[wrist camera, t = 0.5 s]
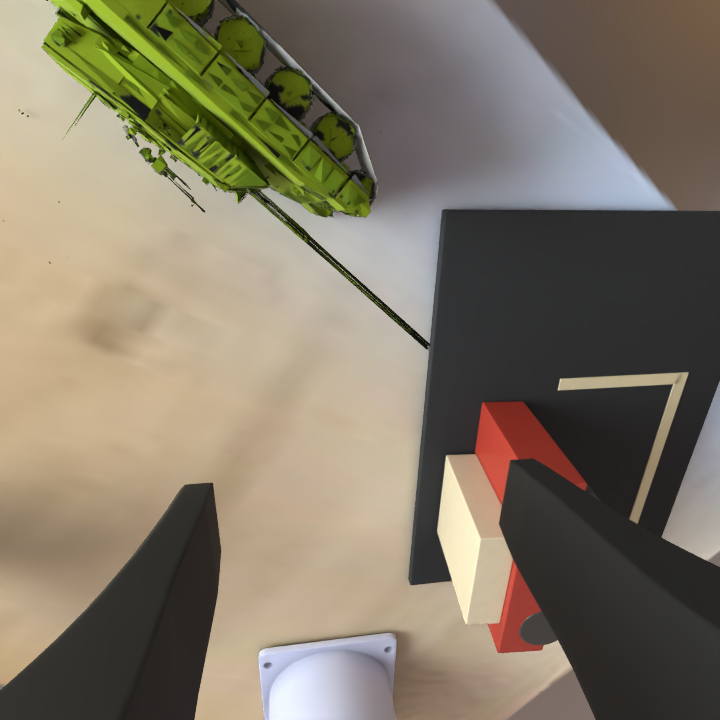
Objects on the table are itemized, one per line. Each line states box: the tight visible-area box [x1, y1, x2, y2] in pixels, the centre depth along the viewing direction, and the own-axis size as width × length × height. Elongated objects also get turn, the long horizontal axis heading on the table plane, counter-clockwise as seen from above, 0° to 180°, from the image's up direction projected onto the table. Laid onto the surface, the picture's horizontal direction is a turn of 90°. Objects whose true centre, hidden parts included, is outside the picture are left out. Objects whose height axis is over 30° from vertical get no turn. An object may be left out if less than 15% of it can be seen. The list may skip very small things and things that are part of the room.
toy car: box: [437, 401, 600, 653], centre depth 22 cm, size 9×4×6 cm, turn 178°
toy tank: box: [4, 0, 433, 354], centre depth 15 cm, size 7×19×10 cm
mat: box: [409, 210, 720, 585], centre depth 24 cm, size 20×15×1 cm
